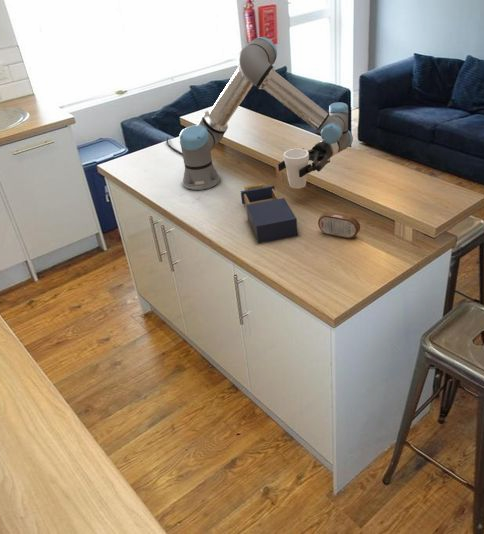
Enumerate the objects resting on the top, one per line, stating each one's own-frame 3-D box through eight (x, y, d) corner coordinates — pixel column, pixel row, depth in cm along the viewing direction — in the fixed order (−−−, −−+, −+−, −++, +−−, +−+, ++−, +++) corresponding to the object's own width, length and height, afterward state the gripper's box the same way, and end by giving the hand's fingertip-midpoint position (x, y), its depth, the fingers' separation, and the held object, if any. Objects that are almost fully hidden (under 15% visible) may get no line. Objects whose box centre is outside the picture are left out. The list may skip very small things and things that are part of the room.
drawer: (238, 196, 227) (237, 184, 224) (270, 190, 230) (269, 178, 226) (250, 221, 210) (249, 209, 207) (285, 215, 212) (284, 202, 209)
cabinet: (248, 221, 212) (246, 204, 208) (285, 214, 215) (284, 197, 211) (258, 243, 199) (256, 226, 195) (297, 235, 201) (296, 218, 197)
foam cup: (307, 191, 213) (306, 159, 205) (283, 190, 215) (281, 158, 207) (311, 179, 220) (310, 148, 213) (288, 178, 222) (286, 148, 215)
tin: (360, 236, 198) (360, 216, 193) (357, 241, 196) (357, 220, 191) (320, 229, 204) (320, 209, 199) (317, 234, 202) (316, 213, 197)
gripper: (347, 165, 220) (313, 187, 206) (303, 152, 232) (268, 172, 218) (347, 147, 216) (312, 168, 202) (302, 135, 228) (266, 154, 214)
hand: (289, 170), depth 210 cm, fingers closed on foam cup, 9 cm apart
